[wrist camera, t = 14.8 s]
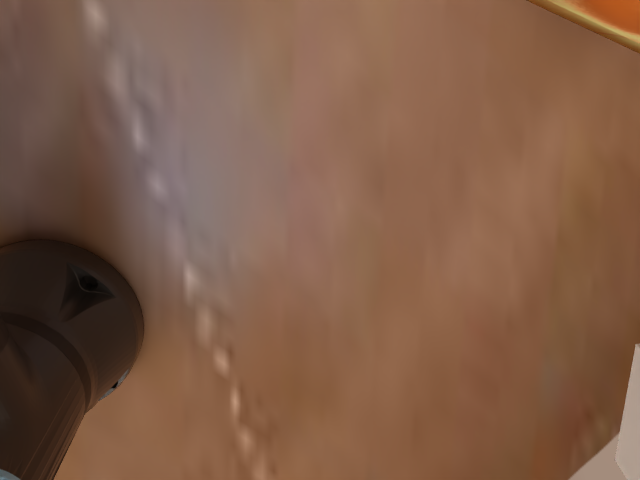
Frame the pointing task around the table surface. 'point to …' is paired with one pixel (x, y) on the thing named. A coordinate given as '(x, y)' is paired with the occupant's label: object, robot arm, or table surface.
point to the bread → (601, 17)
